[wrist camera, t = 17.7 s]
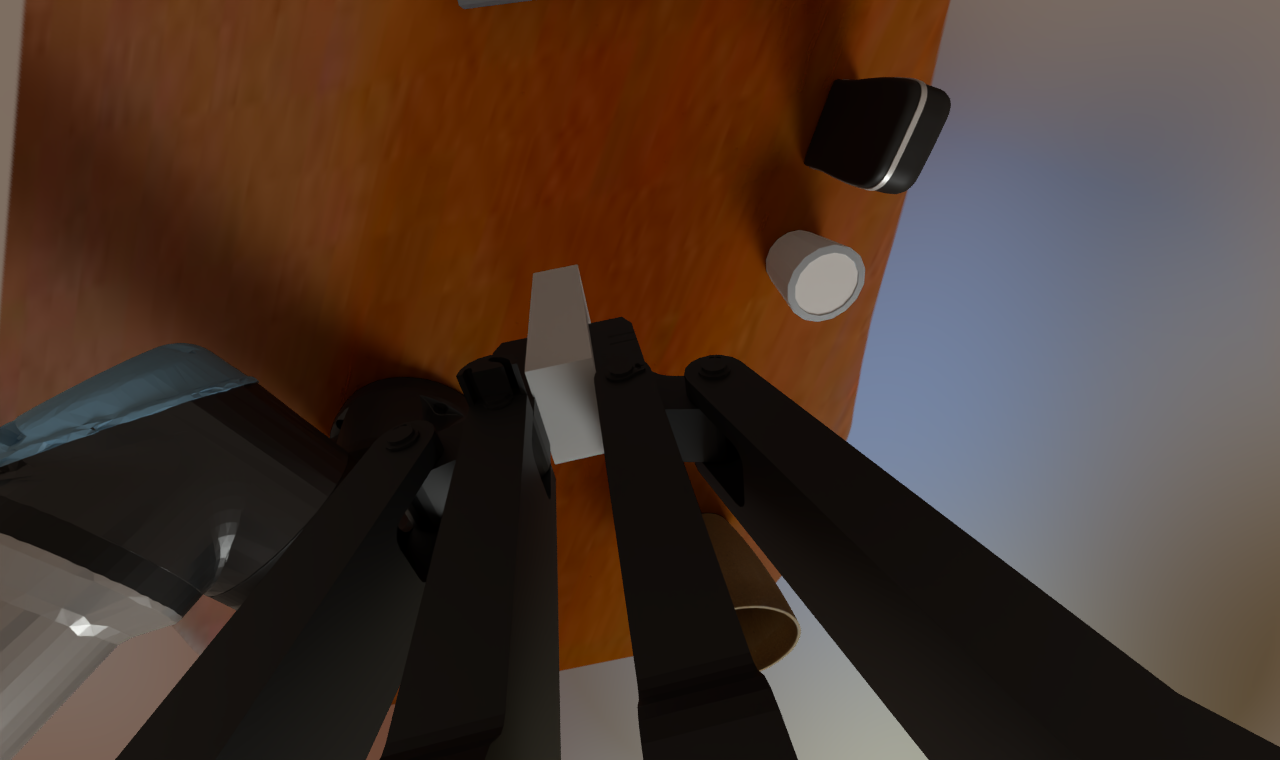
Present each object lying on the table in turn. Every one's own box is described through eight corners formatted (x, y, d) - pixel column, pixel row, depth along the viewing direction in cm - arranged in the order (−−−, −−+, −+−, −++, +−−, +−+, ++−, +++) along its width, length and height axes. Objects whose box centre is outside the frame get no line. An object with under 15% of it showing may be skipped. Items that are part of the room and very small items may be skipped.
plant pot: (672, 483, 61) (703, 599, 47) (772, 503, 65) (826, 614, 52) (631, 559, 67) (647, 679, 54) (723, 572, 72) (760, 686, 58)
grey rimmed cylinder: (765, 223, 44) (796, 245, 39) (835, 222, 45) (875, 244, 39) (754, 293, 48) (781, 323, 42) (819, 291, 49) (854, 320, 43)
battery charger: (837, 176, 43) (915, 205, 33) (799, 166, 42) (869, 193, 32) (874, 87, 40) (973, 90, 30) (833, 74, 39) (922, 74, 29)
